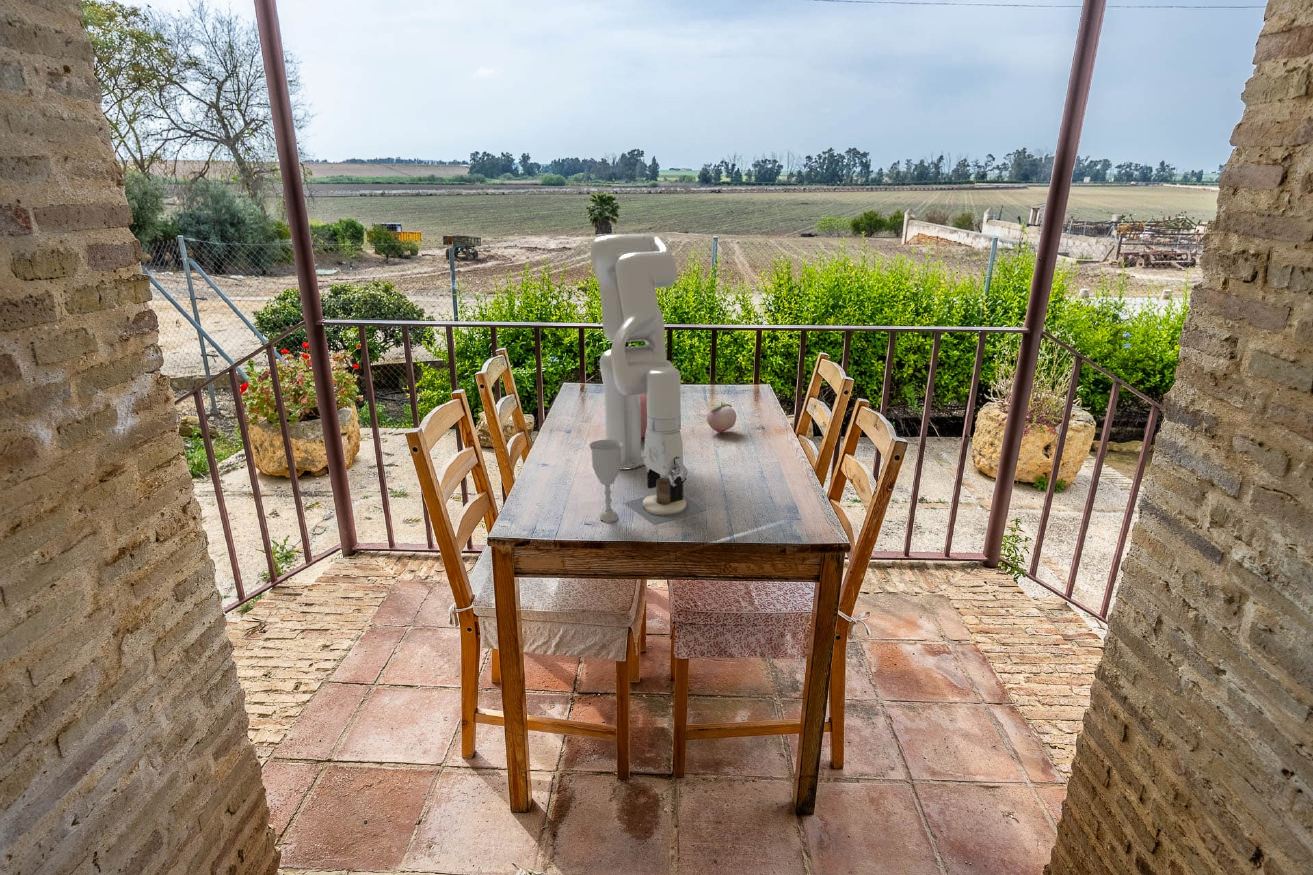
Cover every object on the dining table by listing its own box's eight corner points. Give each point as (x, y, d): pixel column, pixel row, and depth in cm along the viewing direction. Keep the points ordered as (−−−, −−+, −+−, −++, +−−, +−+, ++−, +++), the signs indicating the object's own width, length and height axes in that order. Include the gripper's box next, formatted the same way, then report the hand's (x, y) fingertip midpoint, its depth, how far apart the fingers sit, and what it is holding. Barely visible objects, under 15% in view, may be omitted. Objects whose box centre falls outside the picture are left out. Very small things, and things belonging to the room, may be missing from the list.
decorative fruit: (725, 440, 208) (726, 407, 205) (702, 435, 213) (702, 403, 210) (741, 431, 215) (742, 400, 212) (719, 427, 220) (719, 396, 217)
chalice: (625, 513, 160) (623, 439, 155) (624, 526, 154) (622, 449, 148) (593, 514, 160) (589, 439, 154) (591, 527, 154) (588, 450, 148)
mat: (623, 504, 165) (623, 502, 165) (673, 492, 172) (673, 489, 171) (654, 527, 153) (654, 524, 153) (706, 512, 160) (706, 510, 160)
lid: (635, 503, 164) (634, 478, 162) (670, 494, 169) (670, 469, 167) (657, 519, 156) (657, 492, 154) (694, 508, 161) (694, 482, 159)
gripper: (630, 416, 161) (632, 485, 166) (670, 435, 147) (671, 510, 152) (658, 411, 165) (659, 479, 170) (699, 429, 150) (699, 502, 156)
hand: (664, 493), depth 161 cm, fingers open, 9 cm apart
